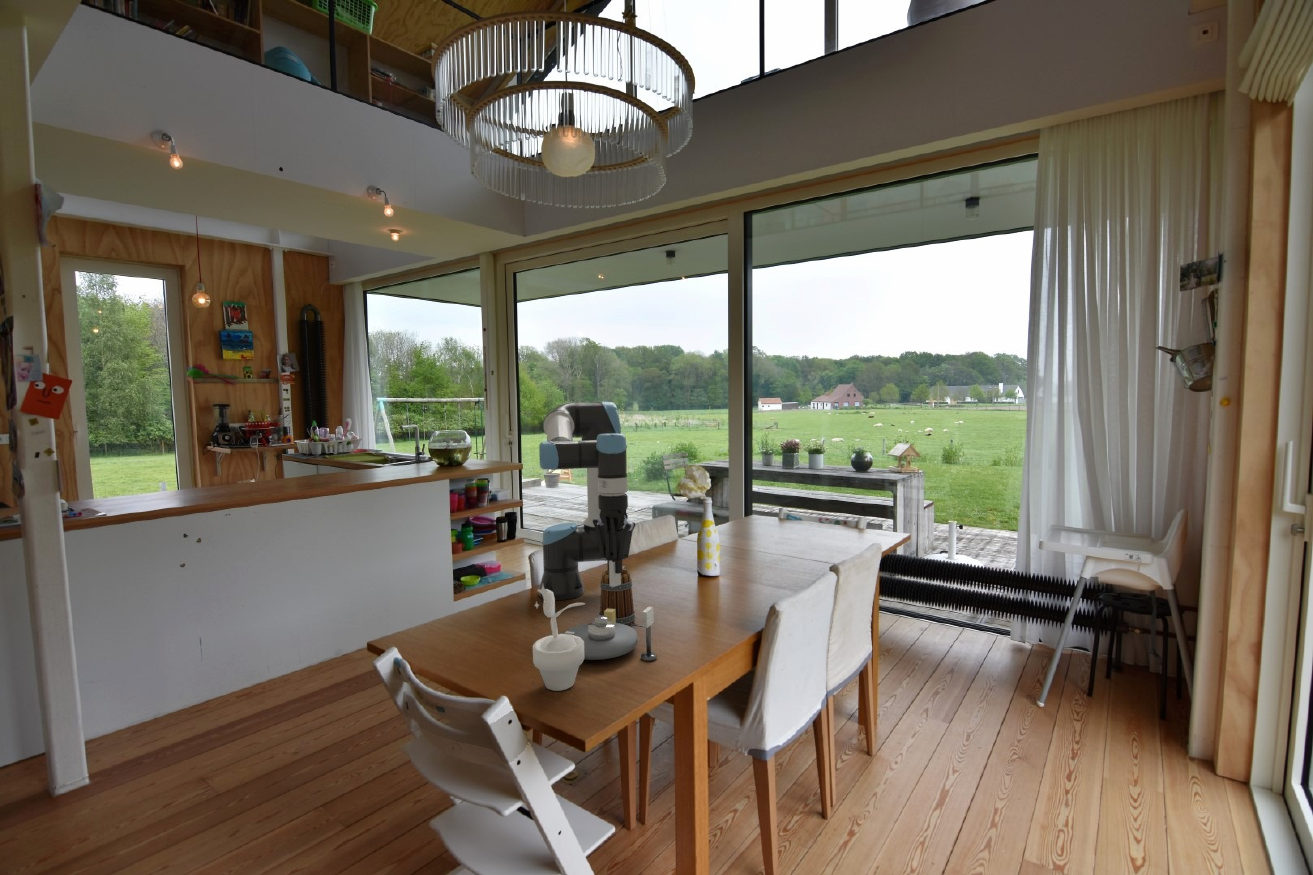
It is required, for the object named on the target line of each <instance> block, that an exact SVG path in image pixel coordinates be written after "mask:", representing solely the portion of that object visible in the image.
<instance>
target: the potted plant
mask: <svg viewBox="0 0 1313 875" xmlns="http://www.w3.org/2000/svg"><path fill="white" fill-rule="evenodd" d="M536 591H537V592H538V593H539V592H540V593H541V594H542V595H543V598H542V599H543V604H542V608H543V614H544V615H545V616H546V617H547V618H550V622H549V624H550V628H551V634H552V635H547V636H544V637H541V638H539V639H538V640H536V641H535V642H534V643H533V644H532V663H533V665H534V666H535V668H536V669H538V670H539V673H540V675H541V678H542V681H543V683H544V686H545V687H546V689H547V690H551V691H553V692H554V691H555V692H560V691H561V692H562V691H565V690H568V689H569V688H571V687H573V686H574V684H575V682H576V678H577V675H578V672H579V668H580V666H581V665H582V664H583V663H584V660H585V659H584V641H583V640H582V639H581V638H580V637H578V636H574V635H568V634H563V633H558V632H559V631H558V624H557V623H558V622H557V617H559V616H560V615H561V614H562V612H564V611H565V610H568V609H570V608H573V607H578V606H579V607H580V606H584V605H586V603H585V602H574V603H571V604H568V605H567V606H566V607H564V608H562V609H560V610H558V611H557V612H556V604H555V603H556V602H555V601H556V600H555V598H554V594H553V592H552V591H550V590H548V589H544V586H543V585H542V589H541V590H539V589H537V590H536ZM539 606H540V604H538V601H535V604H534V607H536V609H538V608H539Z"/></svg>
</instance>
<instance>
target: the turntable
mask: <svg viewBox="0 0 1313 875" xmlns="http://www.w3.org/2000/svg"><path fill="white" fill-rule="evenodd" d="M604 615H605V616H607V620H608V621H612V622H614V623H615V637H614V638H613V639H611V640H608V641H601V642H598V641H592V640H590V639H589V638H588V624H589V623H590V622H588V623H584V624H578V625H576V626H573V627H570V628H568V629H567V630H565V631H564V632H562V634H568V635H574V636H578V637H580V638H581V639H582V640H583V641H584V660H589V661H590V660H591V661H594V660H595V661H597V660H599V661H600V660H607V659H613V658H616V657H620V656H623V655H626V654H628V653H630V652H632V651H633V650H634V649H635V648H637V645H638V632H637V631H636V630H635V628H634V627H631V626H627V625H624V624H620V623H616V611H615V609H608V608H607V609H606V610H605V611H604Z"/></svg>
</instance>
